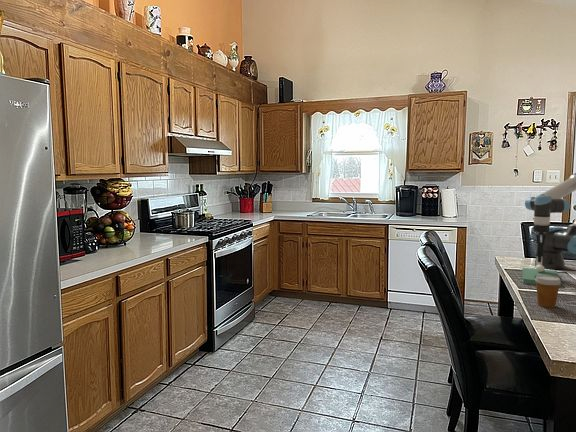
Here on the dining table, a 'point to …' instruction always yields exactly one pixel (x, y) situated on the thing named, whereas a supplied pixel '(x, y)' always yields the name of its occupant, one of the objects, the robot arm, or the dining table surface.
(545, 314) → the dining table surface
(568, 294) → the dining table surface
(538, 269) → the golf ball
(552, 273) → the putting mat
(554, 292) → the disposable coffee cup
